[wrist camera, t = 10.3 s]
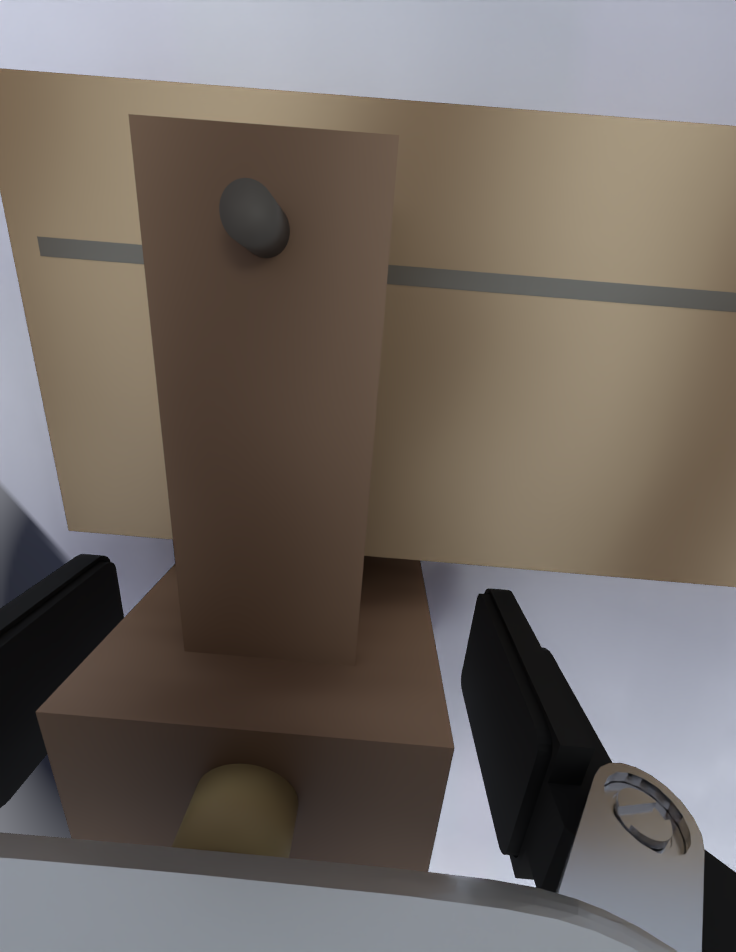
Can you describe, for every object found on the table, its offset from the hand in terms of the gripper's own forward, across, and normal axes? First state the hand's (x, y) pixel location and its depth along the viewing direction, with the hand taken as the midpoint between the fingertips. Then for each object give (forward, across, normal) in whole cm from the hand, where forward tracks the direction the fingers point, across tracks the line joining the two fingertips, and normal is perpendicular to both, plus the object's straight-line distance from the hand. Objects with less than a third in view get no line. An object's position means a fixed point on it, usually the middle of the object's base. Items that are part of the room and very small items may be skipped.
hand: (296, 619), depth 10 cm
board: (+2, -9, -6) cm, 11 cm away
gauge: (+2, 0, -4) cm, 4 cm away
